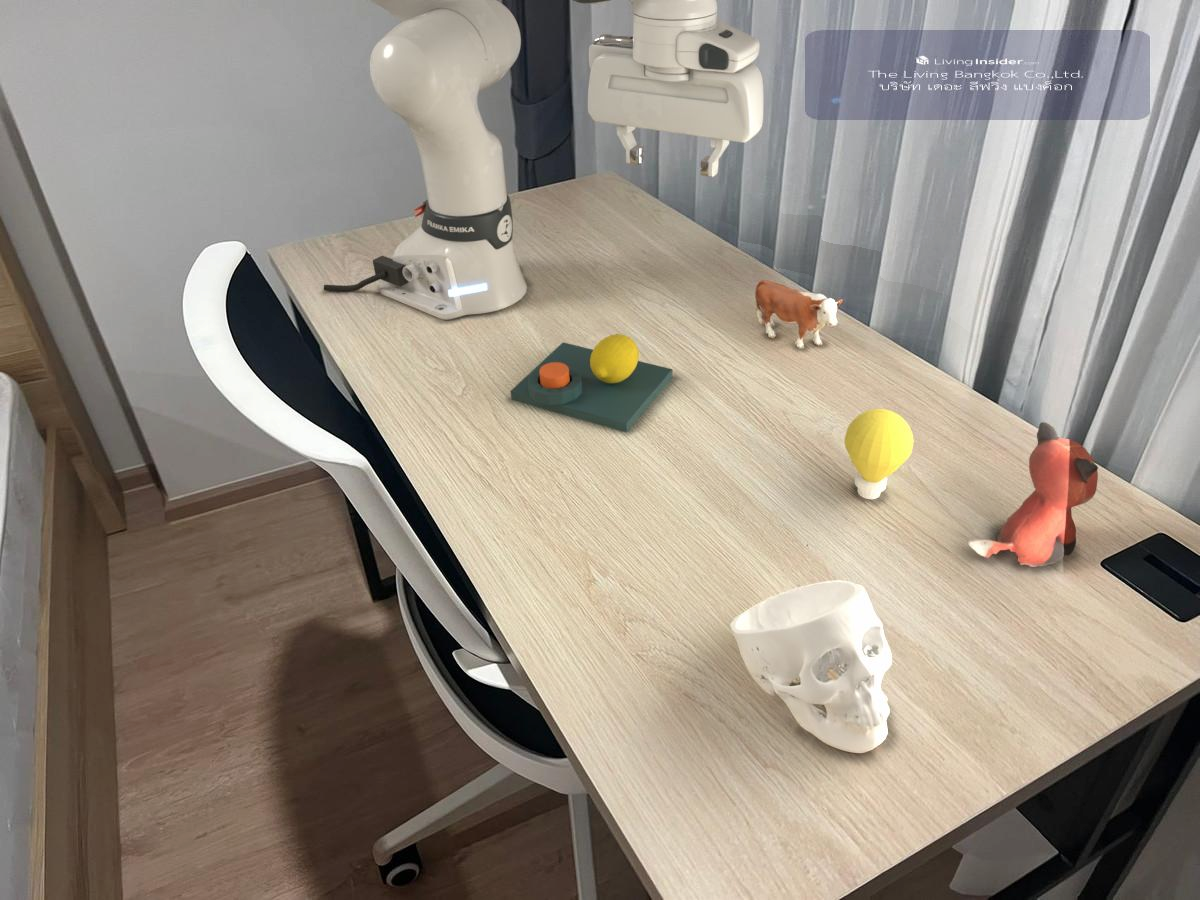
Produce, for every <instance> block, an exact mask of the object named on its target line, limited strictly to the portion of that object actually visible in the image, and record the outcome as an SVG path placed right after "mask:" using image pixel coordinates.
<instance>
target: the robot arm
mask: <svg viewBox="0 0 1200 900" xmlns="http://www.w3.org/2000/svg"><path fill="white" fill-rule="evenodd" d="M366 1H367V2H370V3H372V4H375V5H377V6H379V7H381V8H382V9H384V10H385V11H387V13H390V14H391V15H392V16H393V17H394V18H396V19H397V20H398V22H400V23H398V24H397V25H396V26H395V27H394V26H393V28H392V29H391V30H390V31H388V32H387V33H386V34H385V35H384V36H383V37H382V38H381V39H380V40H379V41H378V42H377V43H376V44H375V46H374V47H373V49H372V52H371V54H370V57H369V75H370V79H371V84H372V85H373V89H374V90H375V93H376V94H377V96H378V97H379V99H380V100H381V101H382V103H383V104H384V105H385V106H386V107H387V108H388V109H389V110H390V111H391V112H393V113H395V114H396V115H398V116H400V117H401V119H402V120H403V121H404V122H405V124H406V126H407V127H408V129H409V131H410V133H411V136H412V137H413V139H414V142H415V144H416V147H417V150H418V153H419V157H420V162H421V168H422V173H423V179H424V185H425V191H426V196H427V197H426V198H427V199H426V200H425V201H423V202H422V204H421V205H419V206H418V207H416V208H414V209H413V212H415V214H414V217H415V218H417V217H419V216H421V215H423V216H422V221H421V225H420V226H419V227H417V228H416V229H415V230H413V232H412V233H410V235H408V236H407V237H405V238H404V240H402V241H401V242H400V243H399V244H398V245H397V246H396V248H395V249H394V252H393V254H392V258H391V257H388V256H385V255H380V256H378V257H376V258H374V259H372V265H373V270H374V275H372V276H369V277H367V278H364V279H362V280H361V281H359V282H358V283H356V284H350V285H340V284H324V285H323V291H325V292H355V291H359V290H361V289H362V288H365V287H366V286H368V285H370V284H372V283H375V282H377V281H379V280H381V282H380V284H379V294H381V295H382V296H385V297H387V298H390V299H392V300H394V301H397V302H399V303H402V304H404V305H406V306H409V307H412V308H413V309H417V310H418V311H421V312H423V313H426V314H428V315H431V316H432V317H435V318H437V319H440V320H445V321H447V320H454V319H457V318H461V317H464V316H469V315H480V314H487V313H492V312H496V311H500V310H503V309H505V308H508V307H510V306H512V305H514V304H516V303H517V302H519V301H520V300H521V299H523V297H524V296H525V295H526V293H527V291H528V285H527V283H526V281H525V278H524V275H523V273H522V270H521V267H520V264H519V260H518V255H517V252H516V248H515V243H514V237H513V235H514V234H513V232H514V221H513V220H514V219H513V210H512V204H511V202H512V201H511V198H510V196H509V195H508V194H507V183H506V181H507V180H506V173H505V171H506V170H505V162H504V161H505V160H504V152H503V146H502V143H501V141H500V139H499V138H498V137H497V136H496V135H495V134H494V133H493V132H492V131H489V130H488V129H487V128H486V125H485V122H484V121H483V118H482V115H481V112H480V109H479V105H478V97H479V96H478V95H479V93H480V92H481V91H483V90H485V89H487V88H489V87H491V86H492V85H494V84H497V83H498V82H499V81H500V80H502V79H503V78H504V77H505V75H507V73H508V71H509V70H510V69H511V68H512V67H513V65H514V64H515V62H516V61H517V59H518V57H519V54H520V51H521V46H522V37H521V31H520V27H519V25H518V22H517V20H516V18H515V16H514V15H513V13H512V12H511V10H510V9H509V8H507V6H505V4H503V3H502V2H501V1H498V0H366ZM572 1H573V2H576V3H579V4H588V5H600V4H603V3H607V2H609V1H611V0H572ZM629 2H630V3H631V5H632V36H629V35H613V34H609V33H604V34H601V35H599V37H597V38H595V39H593V41H591V44H590V45H589V48H588V65H589V69H590V73H589V80H588V87H587V88H588V89H587V112H588V114H589V116H590V118H591V119H592V120H593V122H596V123H602V124H610V125H616V135H617V137H618V139H619V141H620V143H621V145H622V147H623V148H624V150H625V163H626V164H629V165H637V166H639V165H640V164H642V163H643V161H644V153H645V151H644V150H645V149H644V146H643V145H638V143H637V141H636V139H635V136H634V133H633V131H635V130H636V128H638V129H645V130H651V131H653V130H654V131H659V132H666V133H671V134H672V133H673V134H679V135H687V136H694V137H701V138H708V139H710V147H711V148H714V150H713V152H712V153H711V155H706V156H705V157H704V158H703V159H701V160H700V168H701V169H700V172H699V173H700V176H703V177H709V178H714V177H715V176H716V175H717V174H718V172H719V162H720V161H719V159H720V158H721V157H722V155H723V153H724V152H725V151H726V150H727V148H728V146H729V145H730V142H737V143H747V142H749V141H750V140H751V139H754V137H755V136H756V135H758V133H759V132H760V131H761V130H762V127H763V122H764V103H765V102H764V99H765V97H764V96H765V95H764V80H763V76H762V73H761V70H760V68H759V67H758V66H757V64H755V63H754V61H755V60H756V59H757V58H758V56H759V54H760V48H761V47H760V41H759V40H758V38H756V37H755V36H754V35H753V36H752V35H750V34H749V33H746V32H744V31H742V30H740V29H738V28H735V27H733V26H732V25H729V24H727V23H725V22H724V21H722V20H720V19H718V2H717V0H629ZM416 211H417V212H416Z"/></svg>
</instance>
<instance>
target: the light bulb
mask: <svg viewBox="0 0 1200 900" xmlns="http://www.w3.org/2000/svg"><path fill="white" fill-rule="evenodd" d="M844 447H845V450H846V452H847V454H848V456H849V459H850V461H851V463H852V465H853V466H854V468H855V469H856V471H857V472H856V474H855V478H854V484H855V487H857V494H858V496H860V497H861V498H863V499H865V500H875V499H877V498H879V497H880V496H881V493H882V492H884V491H885V490H886V488H887V485H888V480H889V478H888V477H889V476H890V475H892V474H893V473H895V472H896V471H897V470H898V469H899V468H900V467H901V466H902V465H903V464H904V463H905V462H906V461H907V460H908V459H909V458H910V457H911V454H912V452H913V448H914V434H913V431H912V429H911V427H910V425H909V424H908V422H907V421H906V420H905V418H903V417H902V416H901V415H900V414H898V413H897V412H894V411H892V410H889V409H884V408H874V409H869V410H866V411H864V412H861V413H860V414H858V415H857V416H855V418H854V419H853V420H852V421H850V423H849V425H848V427H847V429H846V433H845V435H844Z"/></svg>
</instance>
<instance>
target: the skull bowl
mask: <svg viewBox="0 0 1200 900" xmlns="http://www.w3.org/2000/svg"><path fill="white" fill-rule="evenodd" d="M730 630H731V632H732V635H733V637H734V639H735V641H736V644H737V646H738V649H739V652H740V656H741V658H742V661H743V662H744V665H745V667H746V669H747V671H748V673H749V674H750V676H751V677H752V679H753V680H754V681H755V683H756V684H757V685H759V687H760V688H761V689H762V690H763V691H764V692H765V693H767V694H768V695H770V696H776V695H777V696H778V697H779V698H781V700H782V701H783V703H785V704H786V706H787V708H788V709H789V711H790V712H791V714H792V717H794V719H795V720H796V722H797V724H798V725H799V726H800V727H801V728H802V729H804V730H805V731H806V732H809V733H810V734H812V735H813V736H814V737H816V738H817V739H819V740H820V741H821V742H822V743H824V744H826V745H827V746H830V747H832V748H834V749H837V750H840V751H843V752H848V753H851V754H863V753H868V752H870V751H873V750H874V749H875V748H877V747H879V746H880V745H881V744H883V742H884V741H885V740H886V738H887V736H888V734H889V733H888V732H889V730H888V725H887V720H888V717H889V716H890V713H891V711H890V707H889V704H888V697H887V695H885V693H884V692H883V691H882V687H881V684H882V680H883V677H884V675H885V673H886V672H887V671H888V670H889V669H890V667H892V663H893V656H892V652H891V649H890V646H889V644H888V641H887V639H886V636H885V632H884V628H883V622H882V621H881V619H880V618H879V617H878V616H877V614H876V612H875V610H874V608H873V605H872V602H871V600H870V598H869V595H868V593H867V591H866V589H865V587H864V586H863V585H862V584H859V583H855V582H852V581H848V580H835V579H834V580H826V581H819V582H815V583H811V584H810V583H809V584H806V585H802V586H797V587H795V588H791V589H789V590H785V591H782V592H779V593H777V594H774V595H772V596H770V597H768V598H766V599H764V600H762V601H760V602H758V603H756V604H754V605H753V606H751V607H749V608H747V609H745V610H744V611H742V612H741V613H739V614H738V615H737V616H736V617H735V618H733V620H732V621H731V623H730ZM830 669H831V670H832V671H833V672H836V673H837V674H838V675H839V676H838V677H836V679H832V678H828V676H829V674H828V673H829V670H830ZM792 683H794V684H796V685H791V684H792ZM798 683H800V684H798ZM815 705H823V706H824V708H825V710H826V711H824V710H822V709H820V708H818V707H816V706H815Z"/></svg>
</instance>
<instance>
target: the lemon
mask: <svg viewBox="0 0 1200 900" xmlns="http://www.w3.org/2000/svg"><path fill="white" fill-rule="evenodd" d="M592 350H593V352H592V354H591V358H590V366H591V369H592V372H593V374H594V375H595V376H596V377H597V378H598V379H599V380H601V381H603V382H605V383H618V382H621V381H623V380H624V379H626V378H628V377H629V376H630V375H631V373H632V372H633V371H634V369H635V368H636V365H637V363H638V361H639V359H640V352H639V347H638V345H637V343H636V342H635V341H634V340H633V338H631V337H629V336H628V335H626V334H621V333H616V334H611V335H608V336H606V337H604V338H603V339H601V340H600V341H599V342H598V343H597V344H595V346H594V348H593V349H592Z"/></svg>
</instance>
